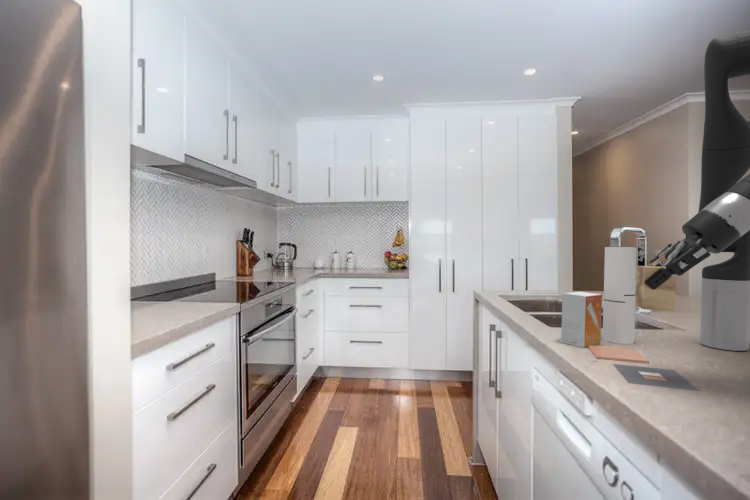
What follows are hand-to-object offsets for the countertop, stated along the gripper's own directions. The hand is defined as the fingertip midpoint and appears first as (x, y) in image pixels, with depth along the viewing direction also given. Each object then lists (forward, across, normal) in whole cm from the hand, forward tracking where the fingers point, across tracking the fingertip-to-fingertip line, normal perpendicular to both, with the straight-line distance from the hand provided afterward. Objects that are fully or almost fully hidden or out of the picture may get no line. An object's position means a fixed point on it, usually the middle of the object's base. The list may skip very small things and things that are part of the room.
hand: (643, 284), depth 76 cm
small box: (+18, -23, +8) cm, 30 cm away
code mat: (+11, 0, +14) cm, 18 cm away
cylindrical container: (+11, -30, +15) cm, 35 cm away
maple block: (+2, 0, +4) cm, 5 cm away
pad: (+14, -14, +12) cm, 23 cm away
